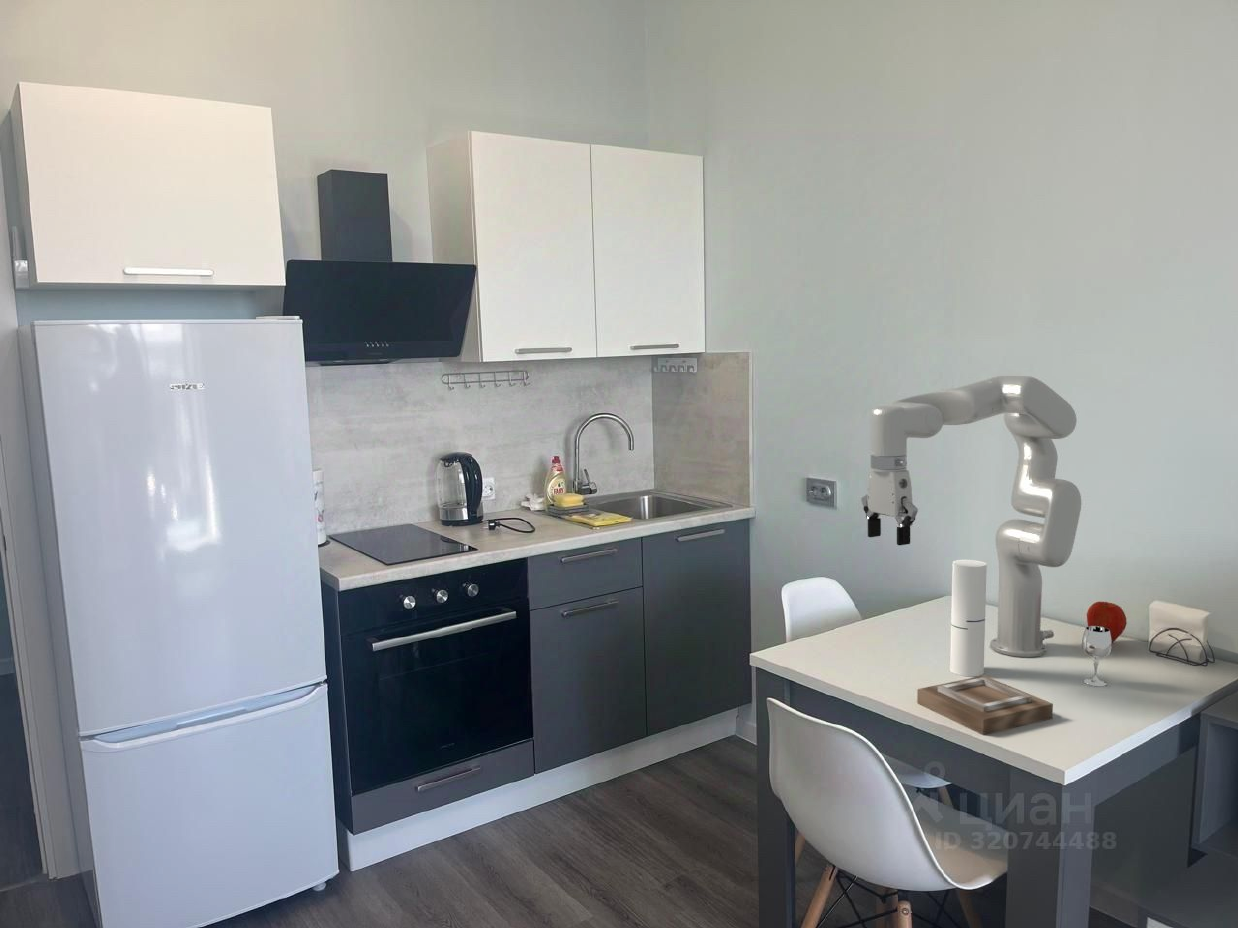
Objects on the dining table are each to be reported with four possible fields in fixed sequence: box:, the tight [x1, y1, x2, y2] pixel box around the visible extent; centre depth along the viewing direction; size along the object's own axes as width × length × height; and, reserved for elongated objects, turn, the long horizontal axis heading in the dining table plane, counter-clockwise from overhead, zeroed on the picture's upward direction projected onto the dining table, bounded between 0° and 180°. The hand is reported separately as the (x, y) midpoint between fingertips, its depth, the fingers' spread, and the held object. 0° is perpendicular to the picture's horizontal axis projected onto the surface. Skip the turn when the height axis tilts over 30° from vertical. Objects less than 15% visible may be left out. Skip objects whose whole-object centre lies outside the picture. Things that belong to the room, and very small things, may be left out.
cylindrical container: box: [949, 559, 988, 678], centre depth 210 cm, size 7×7×25 cm
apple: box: [1086, 601, 1128, 644], centre depth 228 cm, size 9×8×11 cm
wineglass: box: [1081, 625, 1113, 687], centre depth 202 cm, size 6×6×12 cm
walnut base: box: [916, 675, 1054, 736], centre depth 189 cm, size 18×18×4 cm
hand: (888, 540), depth 205 cm, fingers open, 9 cm apart
